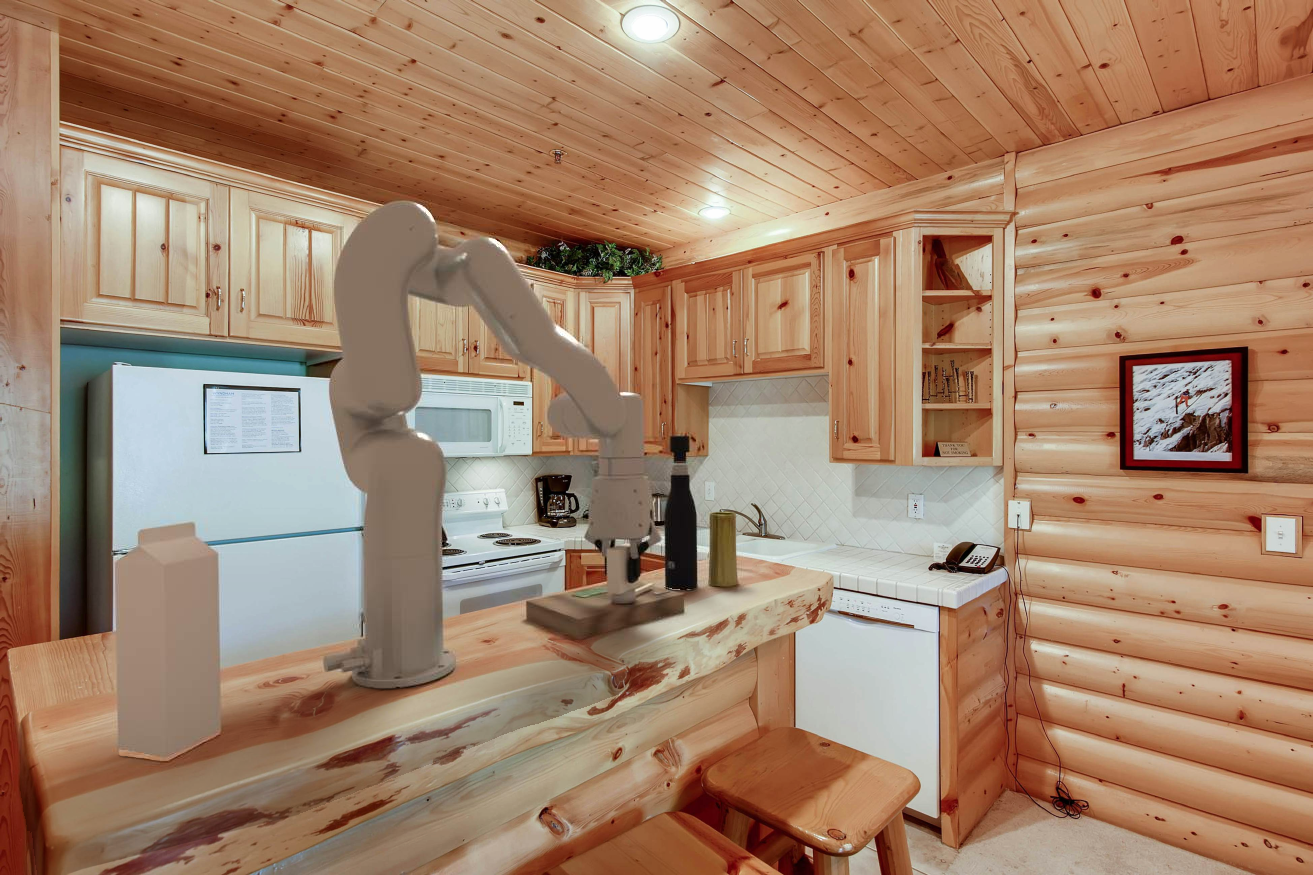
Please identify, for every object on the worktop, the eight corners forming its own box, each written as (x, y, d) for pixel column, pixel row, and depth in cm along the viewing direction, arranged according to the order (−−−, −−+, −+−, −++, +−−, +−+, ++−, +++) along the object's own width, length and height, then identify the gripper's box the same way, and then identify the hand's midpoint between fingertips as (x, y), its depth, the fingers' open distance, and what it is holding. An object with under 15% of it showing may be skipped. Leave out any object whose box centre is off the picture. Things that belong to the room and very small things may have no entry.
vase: (723, 578, 137) (722, 510, 137) (744, 583, 132) (744, 513, 132) (702, 583, 133) (701, 513, 133) (723, 588, 128) (722, 515, 128)
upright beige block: (624, 606, 104) (623, 550, 104) (603, 603, 106) (602, 548, 105) (662, 588, 115) (661, 538, 115) (642, 586, 117) (641, 536, 117)
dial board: (579, 639, 98) (578, 617, 98) (526, 618, 109) (526, 599, 109) (684, 611, 112) (684, 592, 112) (628, 595, 124) (628, 578, 124)
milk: (221, 735, 68) (220, 522, 68) (165, 763, 62) (164, 530, 62) (174, 729, 69) (173, 520, 69) (115, 756, 63) (113, 528, 63)
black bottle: (698, 583, 133) (696, 435, 133) (696, 590, 127) (695, 435, 126) (666, 583, 134) (664, 436, 133) (663, 590, 127) (662, 436, 127)
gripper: (566, 469, 106) (567, 582, 106) (662, 470, 101) (663, 589, 101) (585, 467, 113) (586, 573, 113) (676, 467, 108) (677, 578, 108)
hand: (622, 579), depth 107 cm, fingers closed on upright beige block, 3 cm apart
